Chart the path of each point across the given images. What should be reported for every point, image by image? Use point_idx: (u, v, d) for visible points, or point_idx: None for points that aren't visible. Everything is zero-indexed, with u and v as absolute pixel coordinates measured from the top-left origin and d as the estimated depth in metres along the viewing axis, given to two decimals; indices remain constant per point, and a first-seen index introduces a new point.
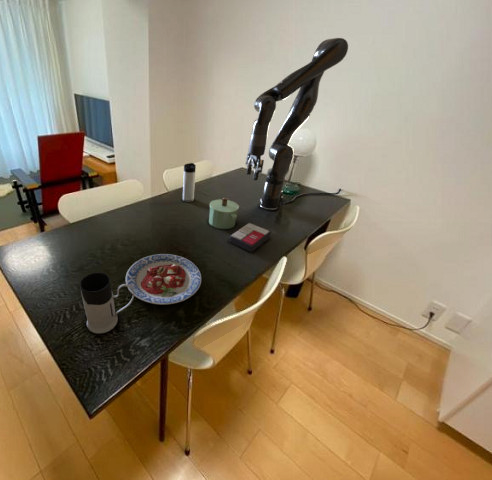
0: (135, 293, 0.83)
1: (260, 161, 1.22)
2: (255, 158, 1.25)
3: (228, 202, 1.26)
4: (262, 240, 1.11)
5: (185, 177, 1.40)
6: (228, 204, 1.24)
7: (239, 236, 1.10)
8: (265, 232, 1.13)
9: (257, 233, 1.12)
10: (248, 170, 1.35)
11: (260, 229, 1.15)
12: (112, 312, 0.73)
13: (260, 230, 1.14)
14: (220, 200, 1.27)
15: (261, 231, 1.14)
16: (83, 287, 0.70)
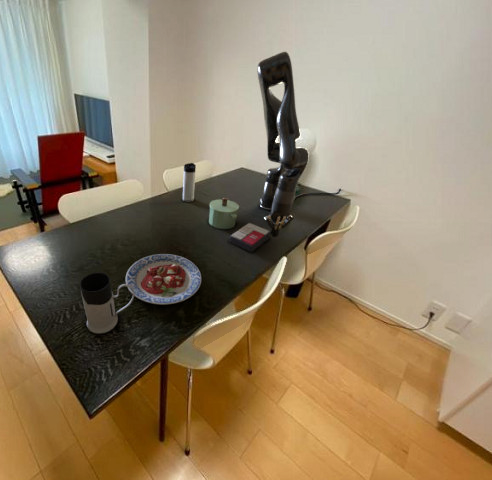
0: (135, 293, 0.83)
1: (264, 219, 1.10)
2: None
3: (228, 202, 1.26)
4: (262, 240, 1.11)
5: (185, 177, 1.40)
6: (228, 204, 1.24)
7: (239, 236, 1.10)
8: (265, 232, 1.13)
9: (257, 233, 1.12)
10: None
11: (260, 229, 1.15)
12: (112, 312, 0.73)
13: (260, 230, 1.14)
14: (220, 200, 1.27)
15: (261, 231, 1.14)
16: (83, 287, 0.70)
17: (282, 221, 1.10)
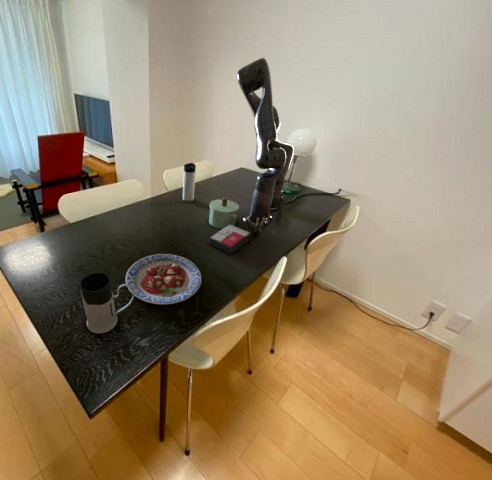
0: (135, 293, 0.83)
1: (244, 220, 1.09)
2: None
3: (228, 202, 1.26)
4: (242, 242, 1.09)
5: (185, 177, 1.40)
6: (228, 204, 1.24)
7: (218, 238, 1.09)
8: (245, 234, 1.11)
9: (237, 235, 1.10)
10: None
11: (240, 231, 1.13)
12: (112, 312, 0.73)
13: (240, 232, 1.13)
14: (220, 200, 1.27)
15: (241, 233, 1.12)
16: (83, 287, 0.70)
17: (261, 222, 1.08)
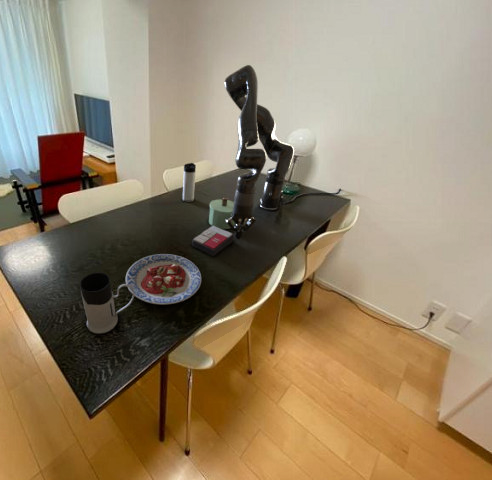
0: (135, 293, 0.83)
1: (226, 221, 1.08)
2: None
3: (228, 202, 1.26)
4: (225, 243, 1.08)
5: (185, 177, 1.40)
6: (228, 204, 1.24)
7: (201, 240, 1.07)
8: (228, 235, 1.10)
9: (220, 236, 1.09)
10: None
11: (223, 232, 1.12)
12: (112, 312, 0.73)
13: (223, 233, 1.12)
14: (220, 200, 1.27)
15: (224, 234, 1.11)
16: (83, 287, 0.70)
17: (244, 223, 1.07)
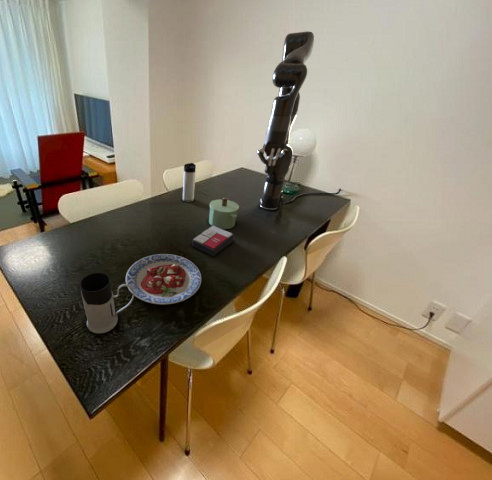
0: (135, 293, 0.83)
1: (257, 152, 1.02)
2: None
3: (228, 202, 1.26)
4: (225, 243, 1.08)
5: (185, 177, 1.40)
6: (228, 204, 1.24)
7: (201, 240, 1.07)
8: (228, 235, 1.10)
9: (220, 236, 1.09)
10: None
11: (223, 232, 1.12)
12: (112, 312, 0.73)
13: (223, 233, 1.12)
14: (220, 200, 1.27)
15: (224, 234, 1.11)
16: (83, 287, 0.70)
17: (277, 155, 1.01)
